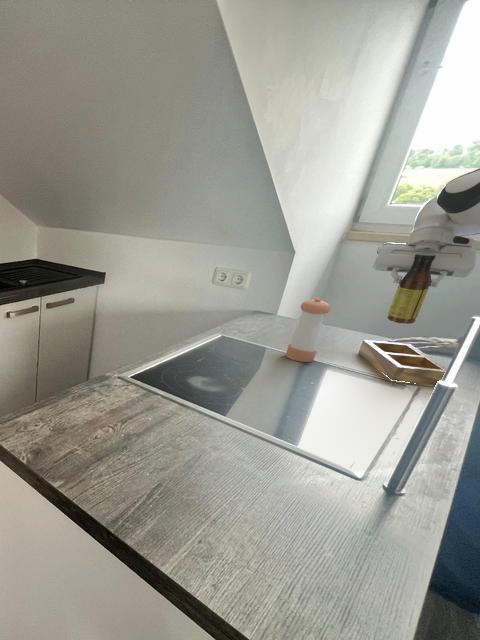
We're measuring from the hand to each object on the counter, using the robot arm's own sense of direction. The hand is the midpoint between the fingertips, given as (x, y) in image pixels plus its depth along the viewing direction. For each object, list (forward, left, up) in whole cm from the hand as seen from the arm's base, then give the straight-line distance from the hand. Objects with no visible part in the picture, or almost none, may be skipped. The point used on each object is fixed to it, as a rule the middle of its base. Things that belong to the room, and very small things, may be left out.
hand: (414, 284), depth 112 cm
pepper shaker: (+24, +8, -23) cm, 35 cm away
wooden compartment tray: (0, +9, -23) cm, 25 cm away
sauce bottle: (0, -1, -12) cm, 12 cm away
